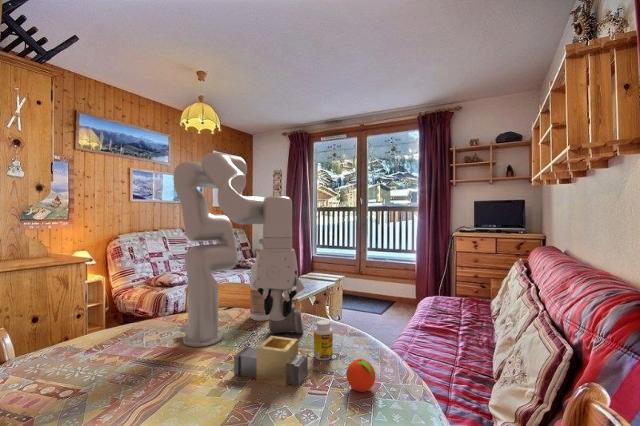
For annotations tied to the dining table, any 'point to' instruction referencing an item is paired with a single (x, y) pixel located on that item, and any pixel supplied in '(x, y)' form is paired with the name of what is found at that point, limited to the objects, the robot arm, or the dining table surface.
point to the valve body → (273, 362)
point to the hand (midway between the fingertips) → (277, 313)
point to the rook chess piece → (277, 306)
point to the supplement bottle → (323, 340)
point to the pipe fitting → (288, 323)
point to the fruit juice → (256, 296)
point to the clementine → (360, 375)
